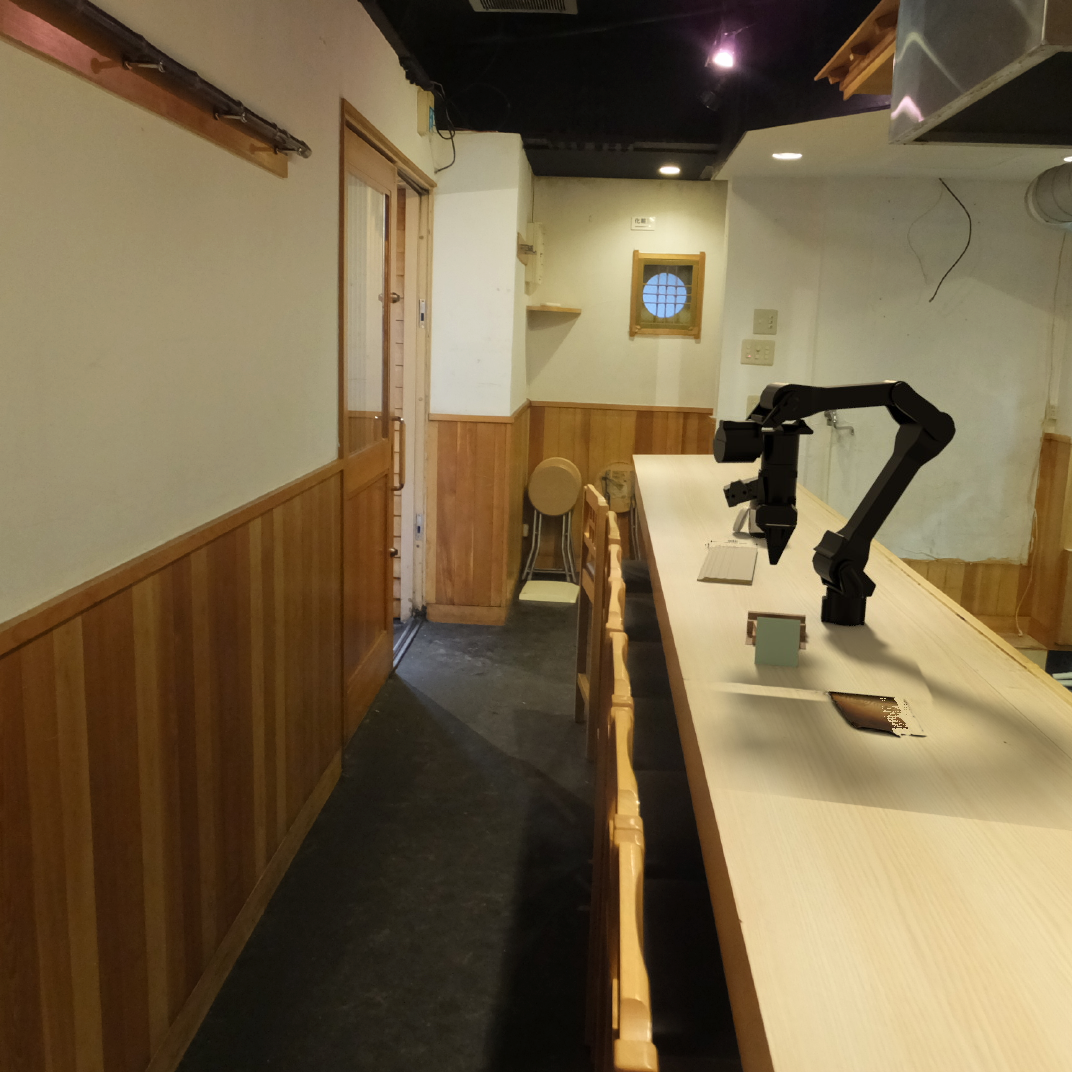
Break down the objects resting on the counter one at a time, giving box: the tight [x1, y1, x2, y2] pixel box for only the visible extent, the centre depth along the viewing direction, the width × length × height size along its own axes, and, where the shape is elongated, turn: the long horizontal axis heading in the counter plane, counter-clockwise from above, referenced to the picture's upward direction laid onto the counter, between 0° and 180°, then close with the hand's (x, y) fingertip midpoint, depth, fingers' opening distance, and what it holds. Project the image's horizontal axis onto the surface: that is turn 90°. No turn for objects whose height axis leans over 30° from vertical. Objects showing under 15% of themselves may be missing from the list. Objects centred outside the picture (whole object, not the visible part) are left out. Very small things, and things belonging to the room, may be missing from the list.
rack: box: [744, 610, 807, 650], centre depth 148 cm, size 9×10×4 cm
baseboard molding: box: [696, 539, 758, 585], centre depth 200 cm, size 31×3×12 cm
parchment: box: [828, 690, 911, 733], centre depth 126 cm, size 25×10×1 cm, turn 171°
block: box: [754, 617, 801, 668], centre depth 135 cm, size 6×1×7 cm, turn 76°
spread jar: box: [732, 498, 766, 540], centre depth 230 cm, size 12×11×12 cm
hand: (773, 558), depth 153 cm, fingers open, 9 cm apart
